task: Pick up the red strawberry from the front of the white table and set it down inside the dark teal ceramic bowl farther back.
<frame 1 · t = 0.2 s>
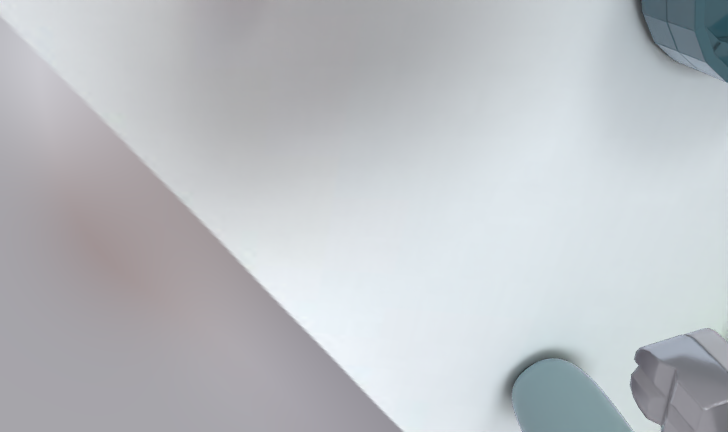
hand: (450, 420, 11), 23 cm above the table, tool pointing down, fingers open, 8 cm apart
cup: (538, 374, 50), on the table
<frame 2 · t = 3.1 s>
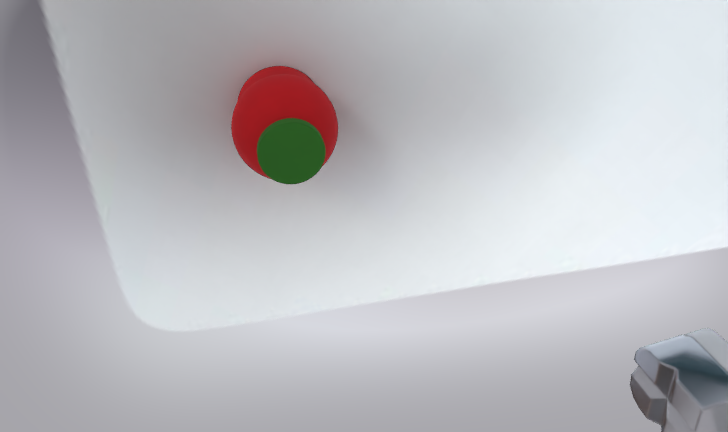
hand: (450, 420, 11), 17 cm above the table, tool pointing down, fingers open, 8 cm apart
strawberry: (279, 106, 25), on the table
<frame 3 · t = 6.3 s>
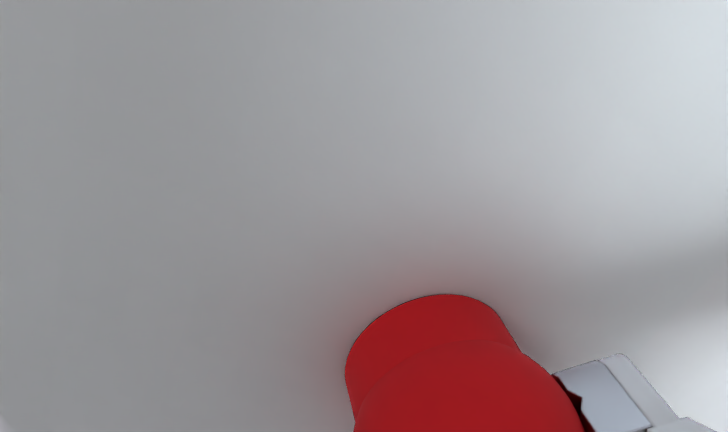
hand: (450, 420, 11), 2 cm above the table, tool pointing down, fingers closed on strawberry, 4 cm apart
strawberry: (425, 357, 12), on the table, touching gripper
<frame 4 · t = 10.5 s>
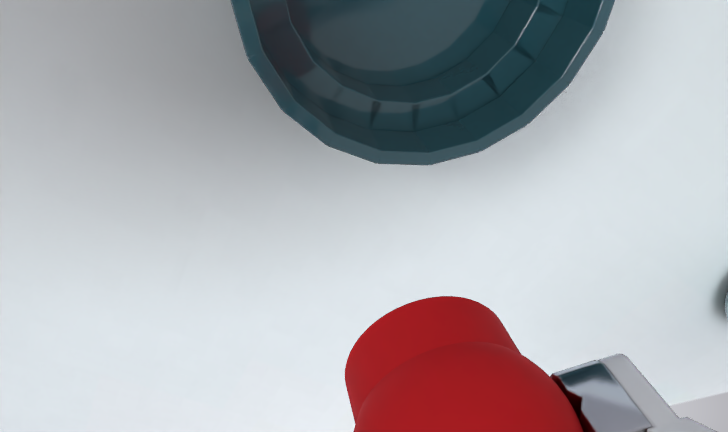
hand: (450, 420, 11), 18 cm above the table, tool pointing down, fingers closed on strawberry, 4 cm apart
strawberry: (425, 359, 12), point 16 cm above the table, touching gripper
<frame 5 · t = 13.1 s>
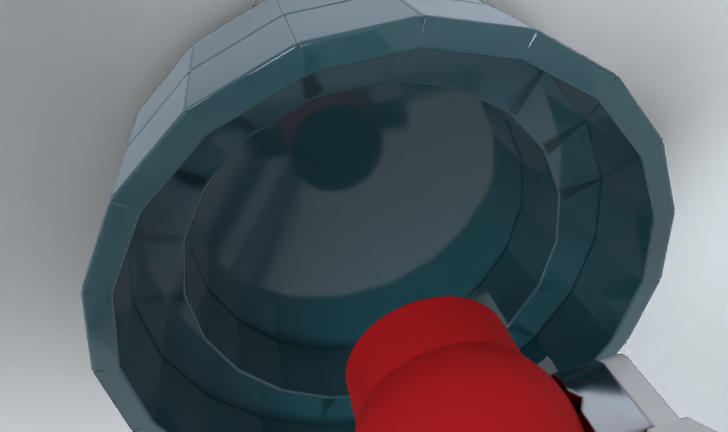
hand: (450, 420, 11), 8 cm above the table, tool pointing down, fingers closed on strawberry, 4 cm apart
bowl: (361, 214, 17), on the table
strawberry: (426, 359, 12), point 6 cm above the table, touching gripper
when the fingers open (3 cm above the table, at t = 15.6 s): strawberry stays where it is, resting on bowl.
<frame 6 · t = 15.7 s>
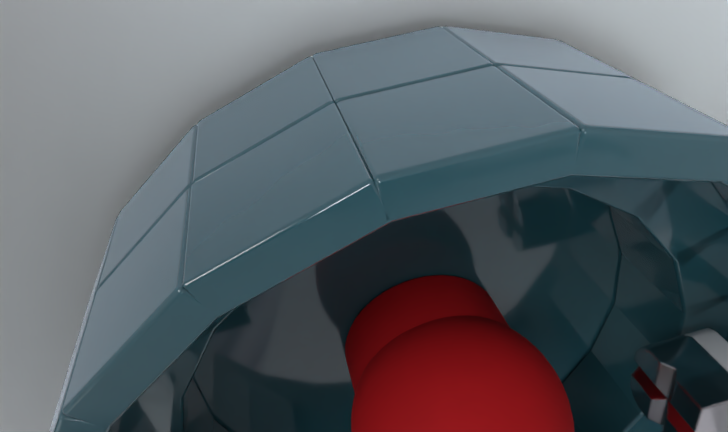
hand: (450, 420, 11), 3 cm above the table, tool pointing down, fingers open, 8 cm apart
bowl: (410, 316, 14), on the table
strawberry: (421, 336, 13), point 1 cm above the table, touching bowl
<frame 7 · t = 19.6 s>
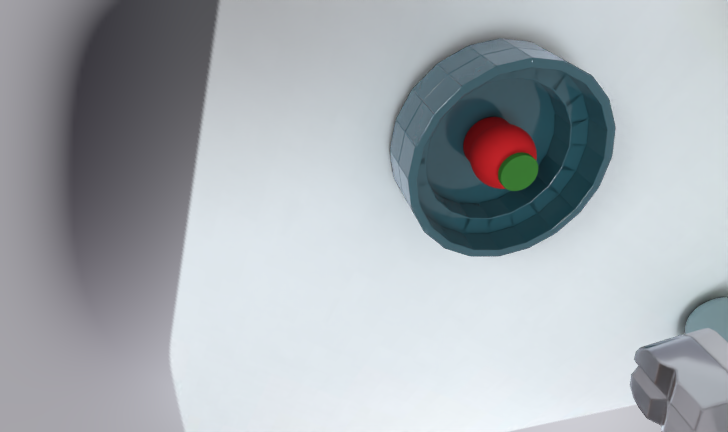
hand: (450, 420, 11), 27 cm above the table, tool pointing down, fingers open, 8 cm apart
bowl: (483, 136, 40), on the table
cup: (704, 313, 57), on the table
strawberry: (487, 141, 39), point 1 cm above the table, touching bowl
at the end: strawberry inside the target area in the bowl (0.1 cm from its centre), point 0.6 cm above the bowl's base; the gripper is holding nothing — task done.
